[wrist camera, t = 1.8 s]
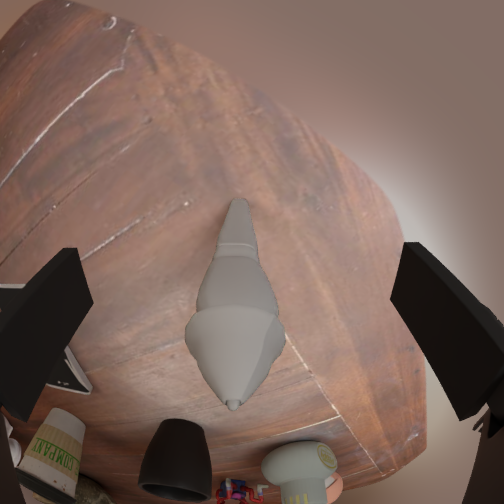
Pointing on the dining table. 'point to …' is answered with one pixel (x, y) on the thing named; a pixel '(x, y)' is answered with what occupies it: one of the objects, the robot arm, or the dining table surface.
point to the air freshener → (300, 471)
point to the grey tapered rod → (235, 314)
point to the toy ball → (333, 487)
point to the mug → (177, 463)
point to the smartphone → (67, 367)
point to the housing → (13, 444)
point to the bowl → (85, 493)
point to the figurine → (238, 491)
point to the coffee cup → (54, 458)
